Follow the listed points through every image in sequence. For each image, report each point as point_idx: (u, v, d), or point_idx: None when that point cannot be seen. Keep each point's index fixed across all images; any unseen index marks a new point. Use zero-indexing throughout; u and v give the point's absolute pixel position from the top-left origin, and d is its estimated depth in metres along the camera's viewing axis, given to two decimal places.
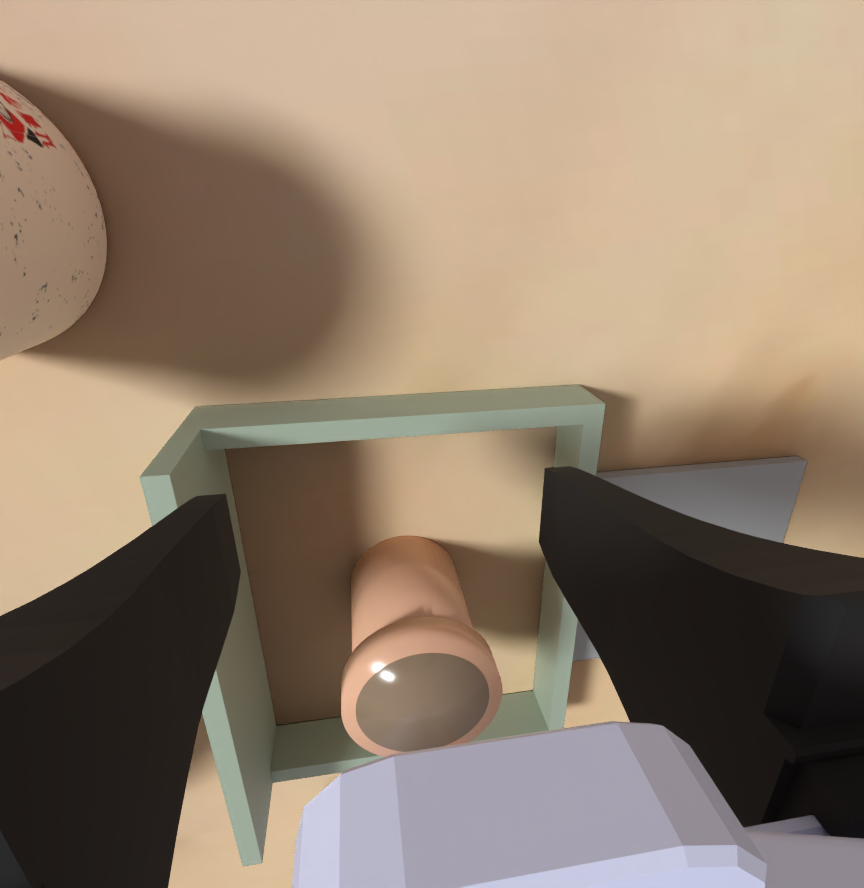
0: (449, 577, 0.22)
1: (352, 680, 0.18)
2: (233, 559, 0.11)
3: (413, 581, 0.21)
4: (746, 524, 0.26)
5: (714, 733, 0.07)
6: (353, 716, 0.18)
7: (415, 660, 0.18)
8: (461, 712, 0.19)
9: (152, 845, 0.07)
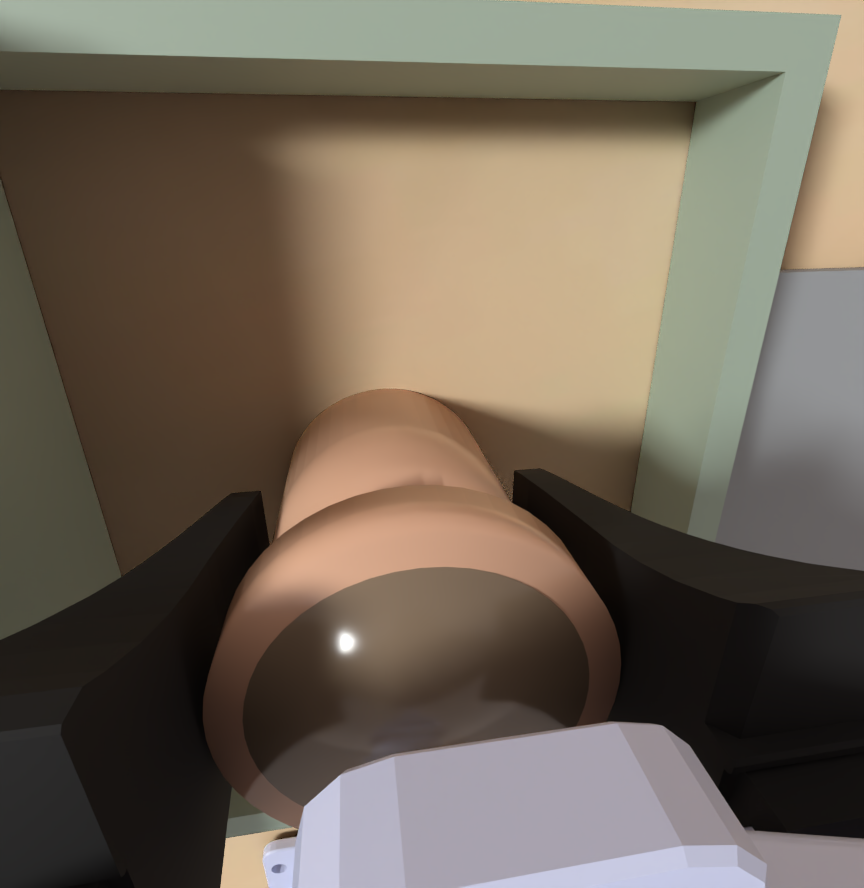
0: (476, 452, 0.11)
1: (225, 643, 0.06)
2: None
3: (400, 441, 0.10)
4: None
5: None
6: (239, 742, 0.07)
7: (402, 590, 0.06)
8: (517, 730, 0.08)
9: (209, 836, 0.07)
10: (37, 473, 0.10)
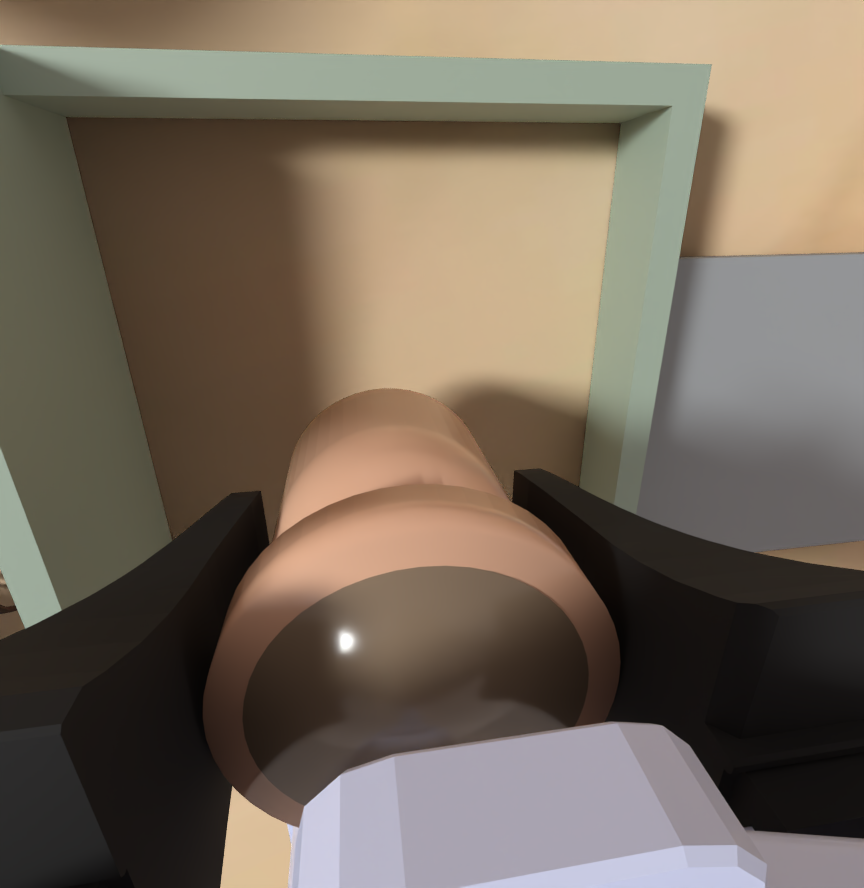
0: (476, 451, 0.11)
1: (225, 642, 0.06)
2: None
3: (400, 440, 0.10)
4: None
5: None
6: (239, 740, 0.07)
7: (401, 588, 0.06)
8: (517, 729, 0.08)
9: (208, 836, 0.07)
10: (108, 411, 0.13)
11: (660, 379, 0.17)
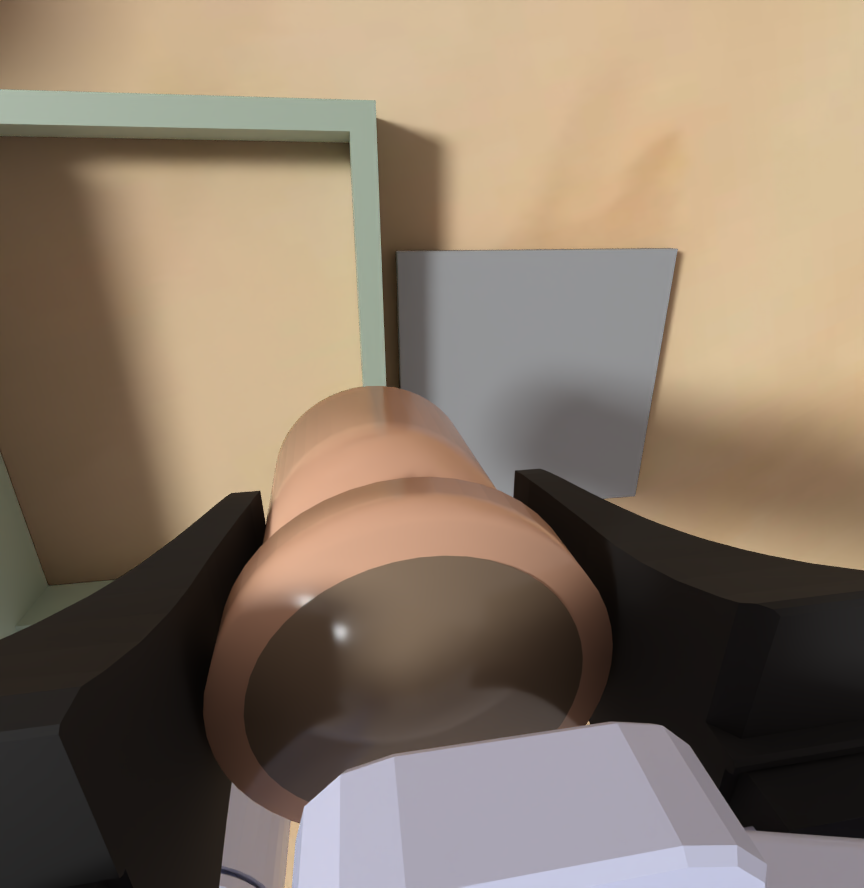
0: (464, 445, 0.11)
1: (226, 638, 0.06)
2: None
3: (390, 435, 0.10)
4: (608, 334, 0.21)
5: None
6: (240, 737, 0.07)
7: (401, 579, 0.07)
8: (513, 715, 0.08)
9: (207, 836, 0.07)
10: None
11: (414, 351, 0.20)
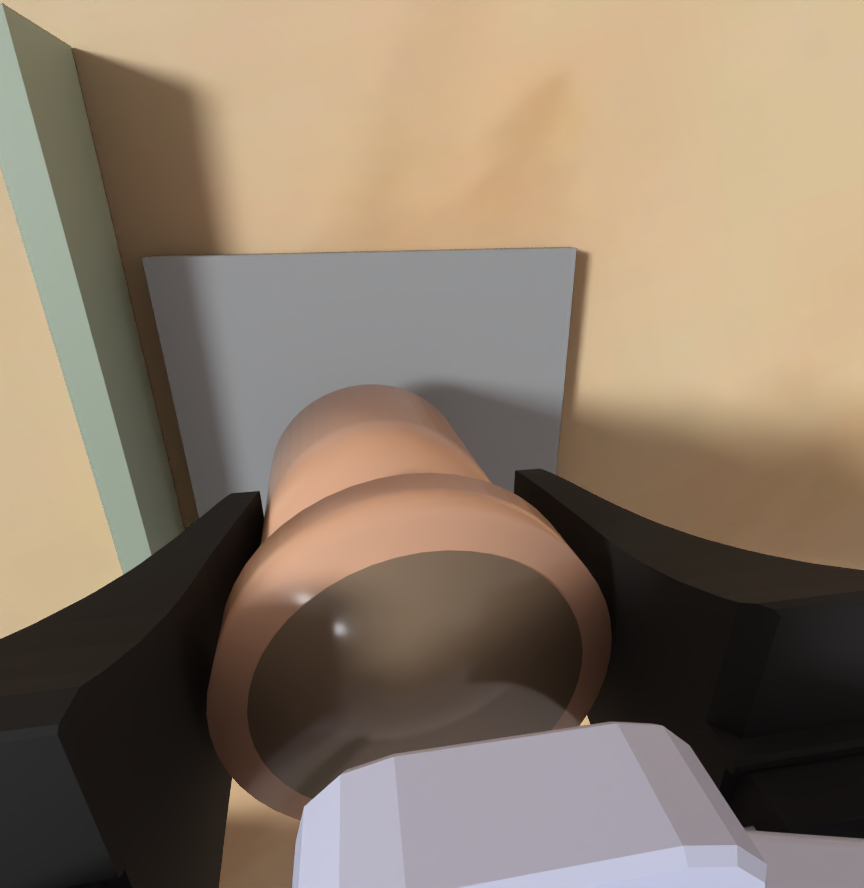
0: (460, 443, 0.11)
1: (229, 636, 0.06)
2: None
3: (388, 433, 0.10)
4: (486, 371, 0.15)
5: None
6: (243, 735, 0.07)
7: (404, 575, 0.07)
8: (515, 708, 0.08)
9: (207, 836, 0.07)
10: None
11: (196, 401, 0.14)
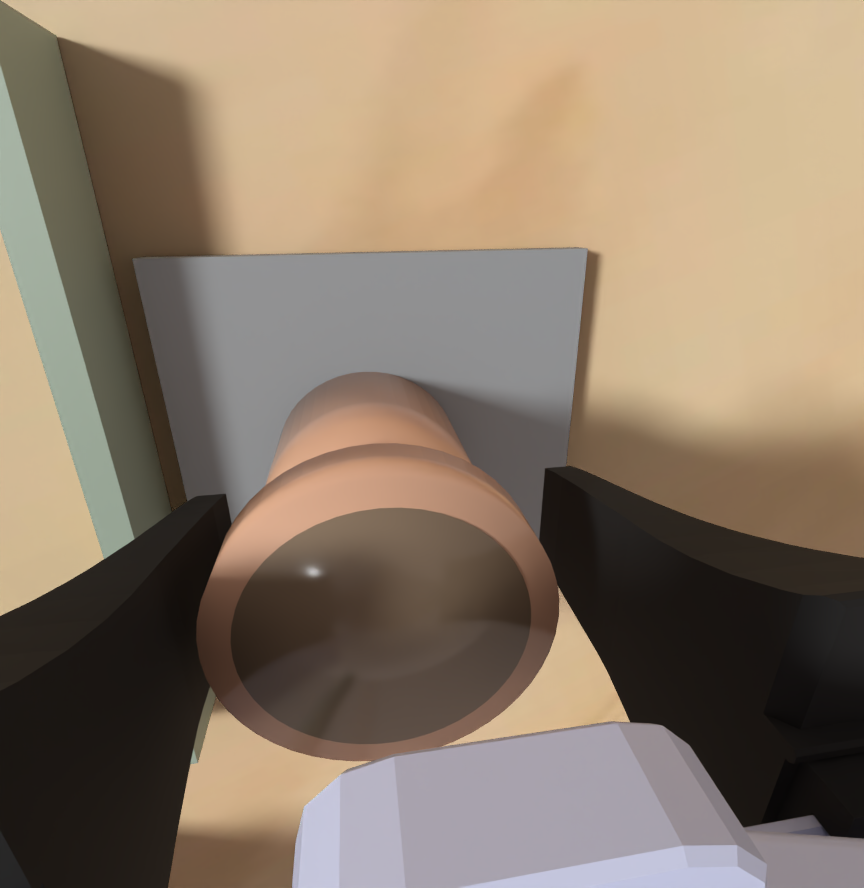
0: (445, 426, 0.12)
1: (214, 572, 0.08)
2: None
3: (374, 413, 0.11)
4: (492, 377, 0.14)
5: (713, 733, 0.07)
6: (227, 662, 0.08)
7: (365, 527, 0.08)
8: (470, 657, 0.09)
9: (152, 845, 0.07)
10: None
11: (190, 408, 0.14)
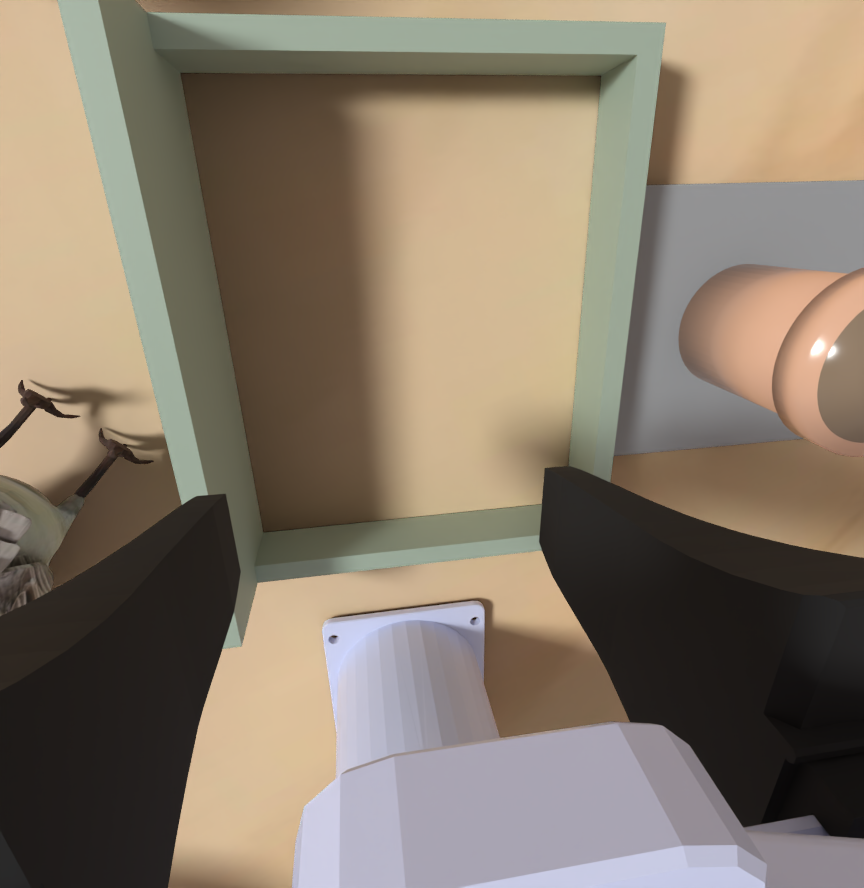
0: None
1: (834, 319, 0.15)
2: (233, 559, 0.11)
3: (815, 270, 0.18)
4: (822, 269, 0.22)
5: (714, 732, 0.07)
6: (817, 377, 0.15)
7: None
8: None
9: (152, 845, 0.07)
10: (208, 301, 0.17)
11: (639, 288, 0.21)
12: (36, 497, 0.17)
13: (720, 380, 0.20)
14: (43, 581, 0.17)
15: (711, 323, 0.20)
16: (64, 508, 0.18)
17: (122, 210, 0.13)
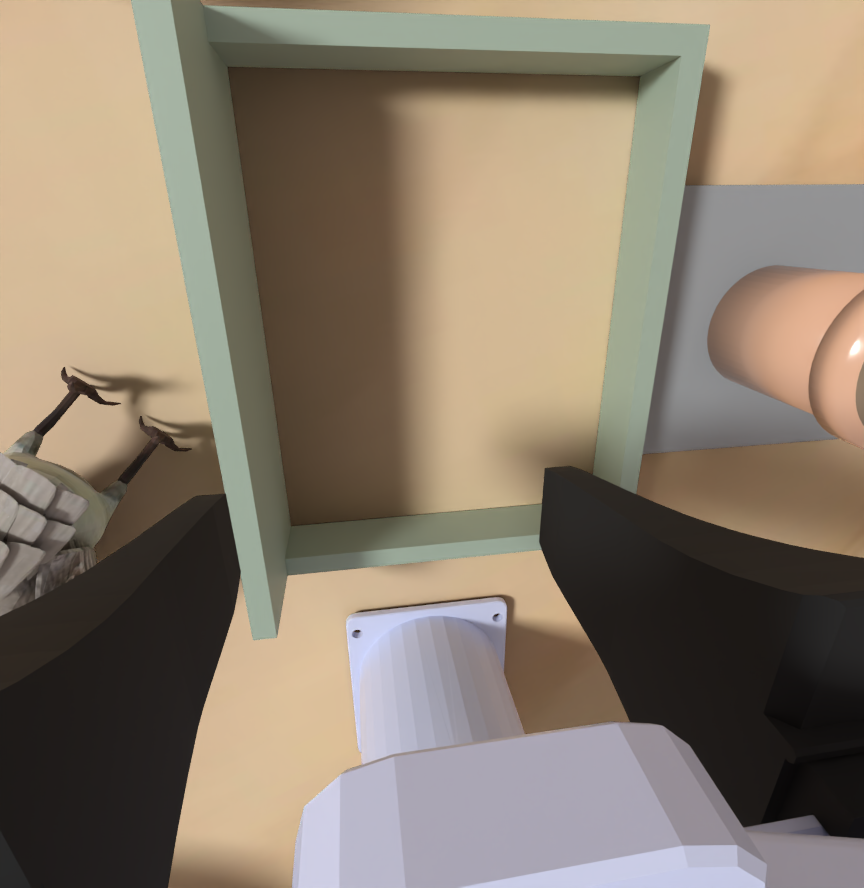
0: None
1: None
2: (233, 559, 0.11)
3: (849, 272, 0.18)
4: (850, 271, 0.22)
5: (714, 732, 0.07)
6: (856, 376, 0.16)
7: None
8: None
9: (152, 845, 0.07)
10: (249, 293, 0.18)
11: (670, 287, 0.21)
12: (82, 482, 0.17)
13: (750, 380, 0.21)
14: (89, 566, 0.17)
15: (743, 323, 0.20)
16: (108, 494, 0.18)
17: (181, 200, 0.13)
